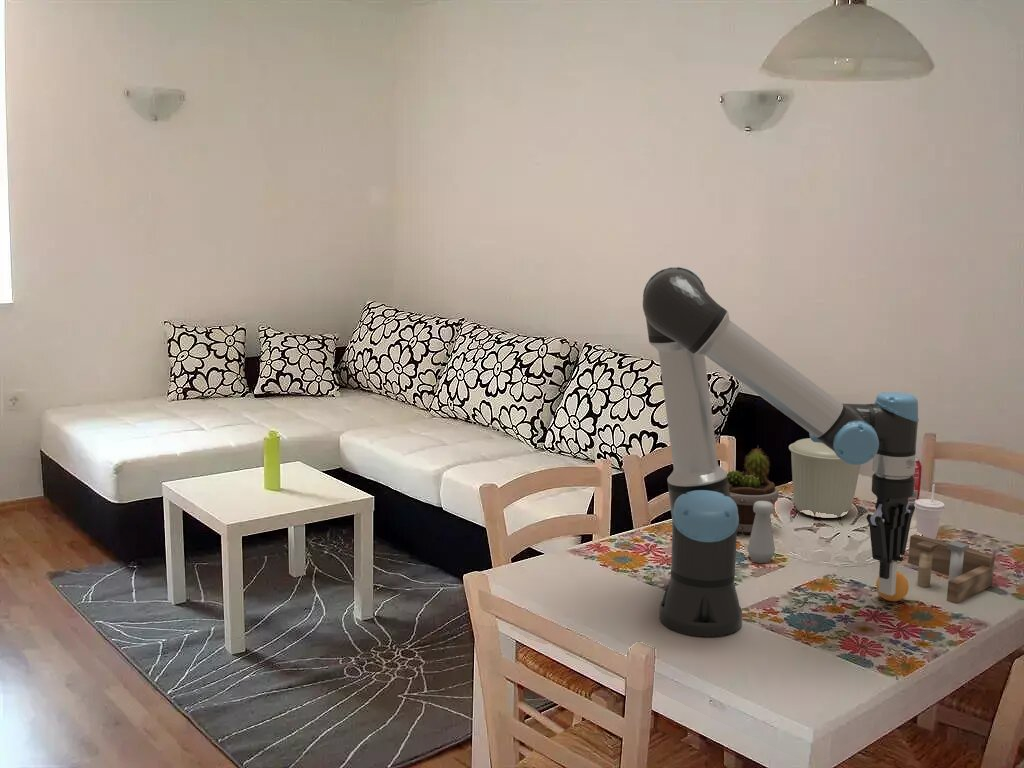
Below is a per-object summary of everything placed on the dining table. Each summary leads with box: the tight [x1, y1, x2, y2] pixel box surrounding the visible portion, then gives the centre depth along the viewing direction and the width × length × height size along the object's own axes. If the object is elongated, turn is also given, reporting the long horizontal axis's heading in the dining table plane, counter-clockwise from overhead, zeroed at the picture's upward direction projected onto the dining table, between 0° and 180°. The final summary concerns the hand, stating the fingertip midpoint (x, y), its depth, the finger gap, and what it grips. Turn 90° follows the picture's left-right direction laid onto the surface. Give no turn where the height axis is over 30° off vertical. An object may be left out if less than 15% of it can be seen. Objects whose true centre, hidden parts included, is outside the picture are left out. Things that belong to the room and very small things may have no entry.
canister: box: [788, 437, 861, 516], centre depth 260 cm, size 18×18×21 cm
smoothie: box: [914, 483, 945, 540], centre depth 239 cm, size 6×6×14 cm
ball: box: [875, 570, 910, 602], centre depth 206 cm, size 6×6×6 cm
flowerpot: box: [727, 445, 780, 537], centre depth 246 cm, size 14×15×20 cm
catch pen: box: [907, 533, 996, 604], centre depth 216 cm, size 16×18×6 cm
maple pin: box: [916, 541, 938, 588], centre depth 214 cm, size 3×3×9 cm
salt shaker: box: [747, 501, 776, 564], centre depth 227 cm, size 6×6×13 cm
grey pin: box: [947, 540, 970, 581], centre depth 214 cm, size 3×3×9 cm
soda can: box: [908, 456, 923, 505], centre depth 271 cm, size 7×7×12 cm
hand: (886, 592), depth 203 cm, fingers closed
